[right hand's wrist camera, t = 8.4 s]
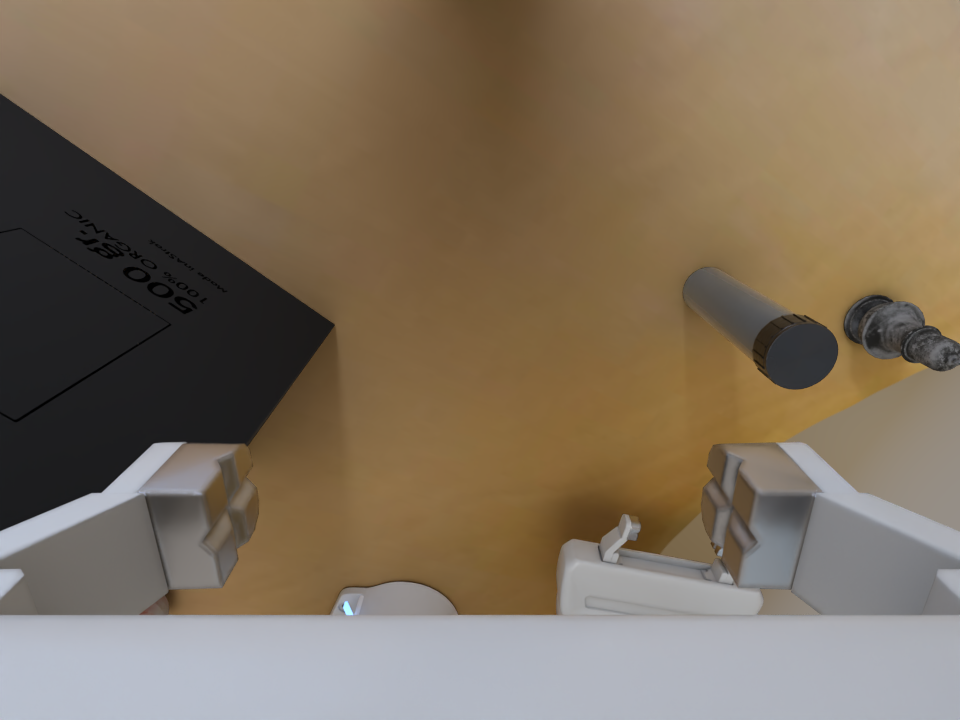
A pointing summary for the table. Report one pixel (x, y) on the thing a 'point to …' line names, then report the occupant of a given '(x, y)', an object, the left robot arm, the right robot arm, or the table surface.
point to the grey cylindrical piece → (730, 306)
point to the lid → (795, 351)
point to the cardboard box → (121, 327)
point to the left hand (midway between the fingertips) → (680, 527)
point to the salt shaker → (899, 333)
